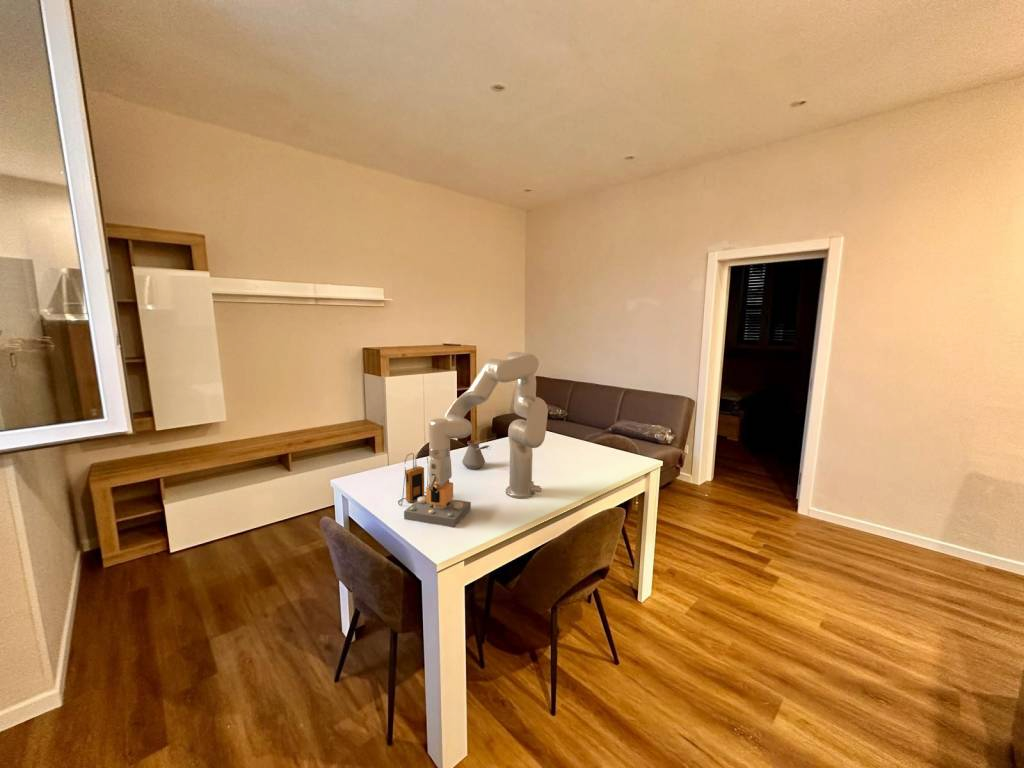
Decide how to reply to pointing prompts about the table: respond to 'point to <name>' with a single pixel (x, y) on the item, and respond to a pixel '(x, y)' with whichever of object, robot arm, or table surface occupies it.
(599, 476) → the table surface
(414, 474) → the multimeter
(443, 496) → the orange block
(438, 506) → the button
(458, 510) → the grey flat block
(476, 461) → the coffee pot
